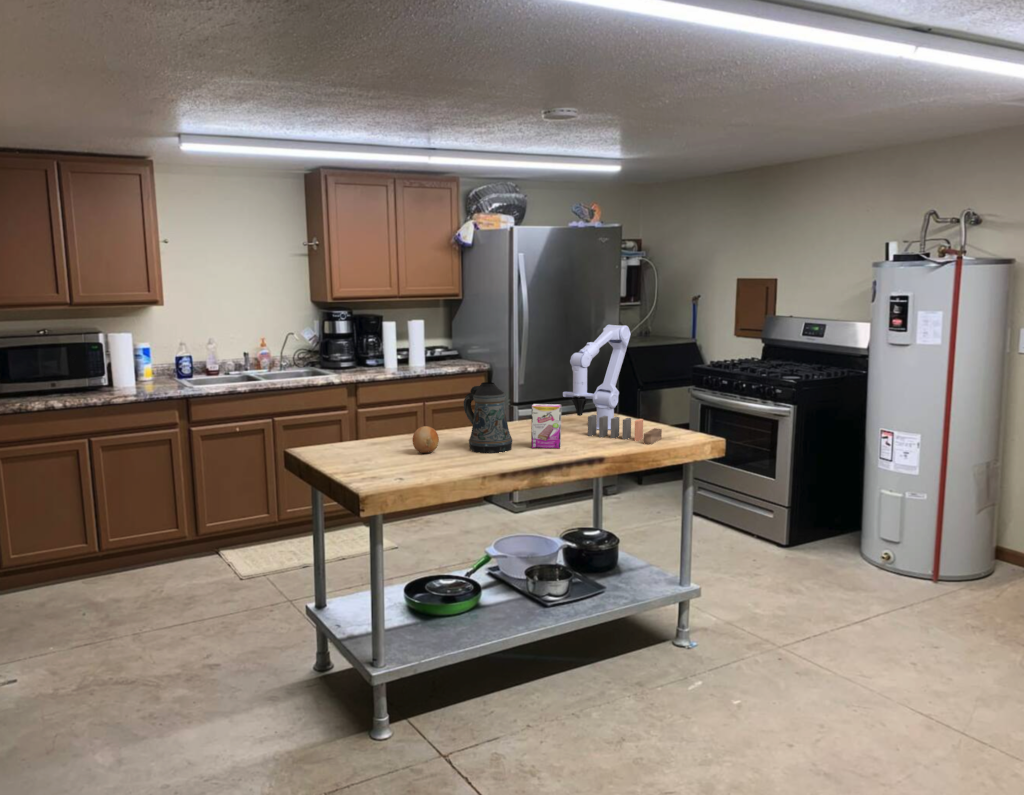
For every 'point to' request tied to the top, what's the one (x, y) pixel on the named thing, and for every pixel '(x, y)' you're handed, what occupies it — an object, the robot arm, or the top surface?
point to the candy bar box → (546, 426)
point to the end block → (652, 436)
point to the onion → (425, 439)
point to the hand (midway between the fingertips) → (579, 415)
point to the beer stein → (488, 419)
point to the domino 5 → (638, 429)
